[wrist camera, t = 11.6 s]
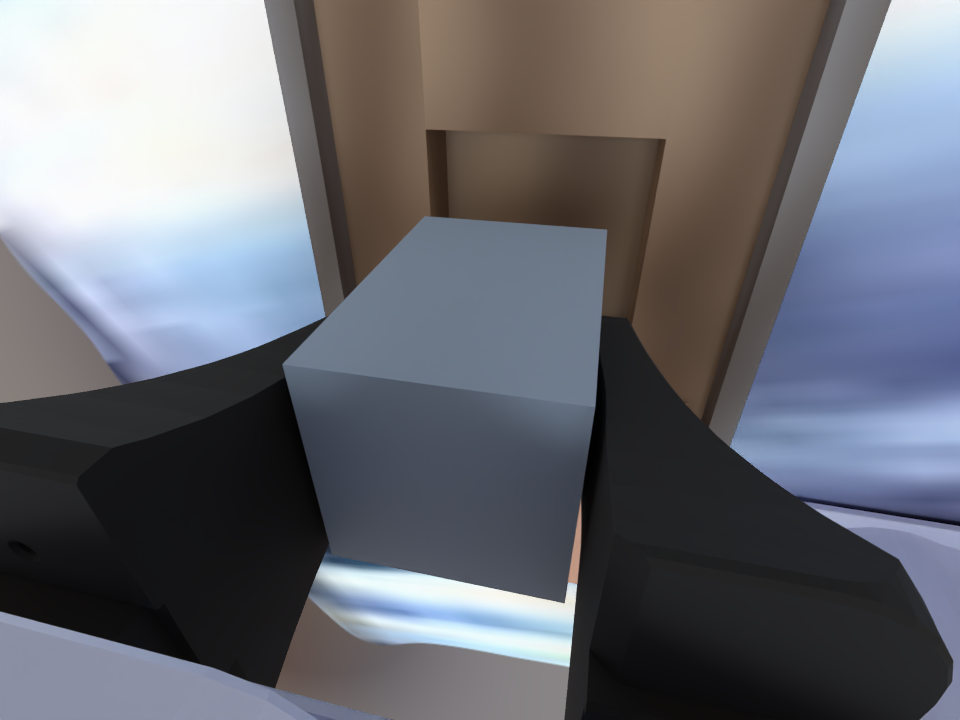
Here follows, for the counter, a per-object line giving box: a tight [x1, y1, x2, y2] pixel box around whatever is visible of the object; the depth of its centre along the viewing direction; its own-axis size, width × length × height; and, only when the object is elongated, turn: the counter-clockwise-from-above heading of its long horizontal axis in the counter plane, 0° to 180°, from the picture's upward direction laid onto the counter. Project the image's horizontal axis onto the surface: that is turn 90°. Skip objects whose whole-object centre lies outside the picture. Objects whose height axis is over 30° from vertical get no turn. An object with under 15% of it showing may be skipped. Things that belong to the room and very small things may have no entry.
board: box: [264, 0, 891, 447], centre depth 18 cm, size 14×20×4 cm
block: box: [282, 216, 607, 603], centre depth 10 cm, size 4×4×6 cm
